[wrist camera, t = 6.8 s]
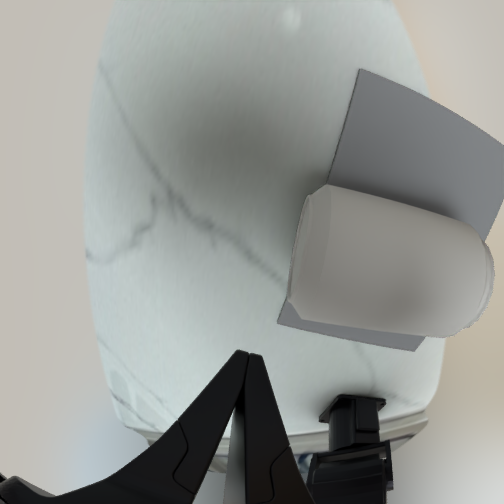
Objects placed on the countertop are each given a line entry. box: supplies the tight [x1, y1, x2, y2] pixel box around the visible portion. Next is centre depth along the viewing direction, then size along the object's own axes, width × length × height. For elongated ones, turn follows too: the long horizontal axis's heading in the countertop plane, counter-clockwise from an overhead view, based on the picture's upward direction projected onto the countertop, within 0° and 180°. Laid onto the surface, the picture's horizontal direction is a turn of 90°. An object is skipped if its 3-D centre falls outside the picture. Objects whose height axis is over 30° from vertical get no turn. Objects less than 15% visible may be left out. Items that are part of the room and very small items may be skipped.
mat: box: [277, 69, 504, 352], centre depth 19 cm, size 20×14×1 cm
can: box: [287, 184, 495, 338], centre depth 15 cm, size 8×8×12 cm
